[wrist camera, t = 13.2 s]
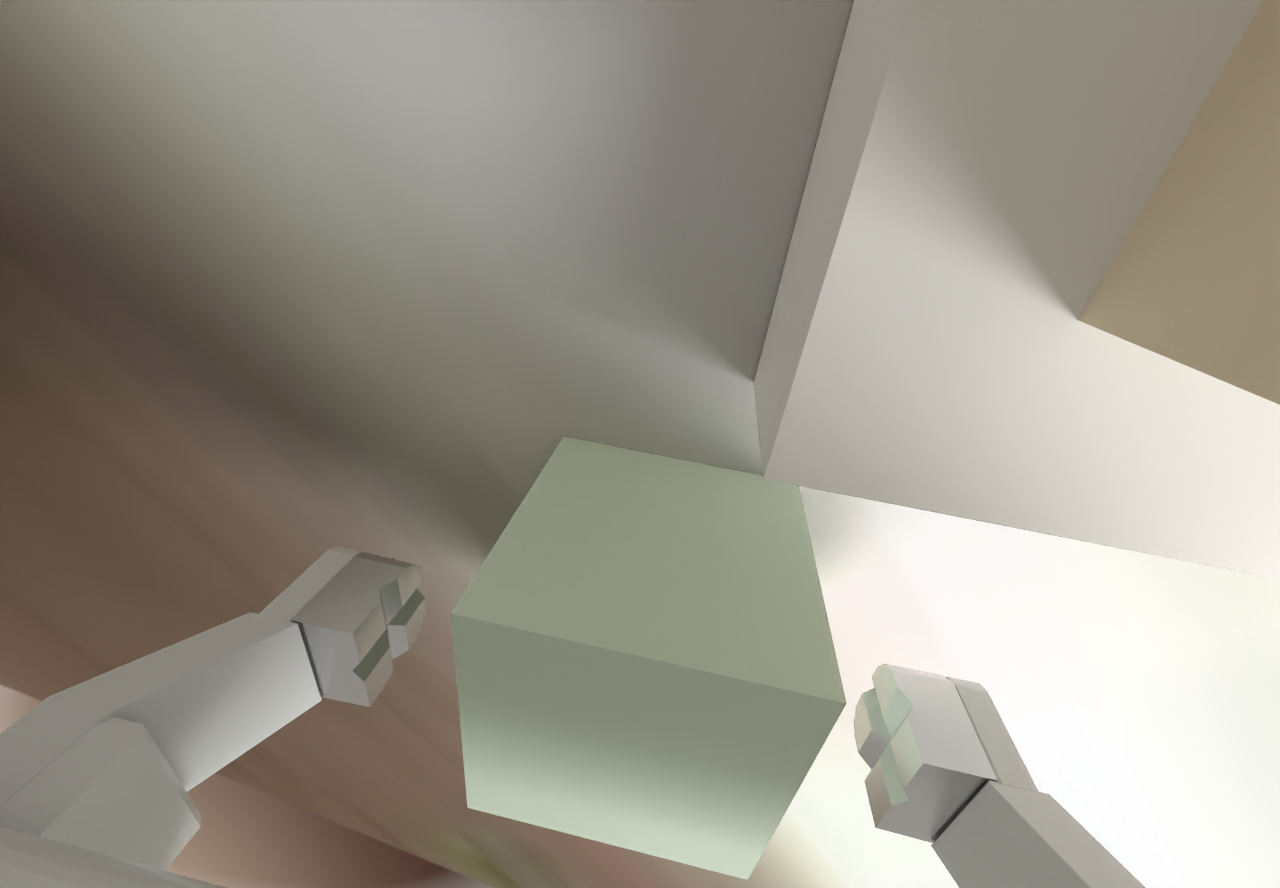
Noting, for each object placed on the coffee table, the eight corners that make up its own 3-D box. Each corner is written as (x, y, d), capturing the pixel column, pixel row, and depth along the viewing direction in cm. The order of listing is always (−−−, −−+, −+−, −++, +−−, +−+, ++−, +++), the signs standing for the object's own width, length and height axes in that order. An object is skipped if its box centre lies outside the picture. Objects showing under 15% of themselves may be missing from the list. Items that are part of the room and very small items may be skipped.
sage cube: (797, 479, 9) (846, 703, 5) (741, 639, 11) (747, 879, 8) (564, 434, 10) (451, 612, 6) (554, 598, 12) (467, 807, 8)
